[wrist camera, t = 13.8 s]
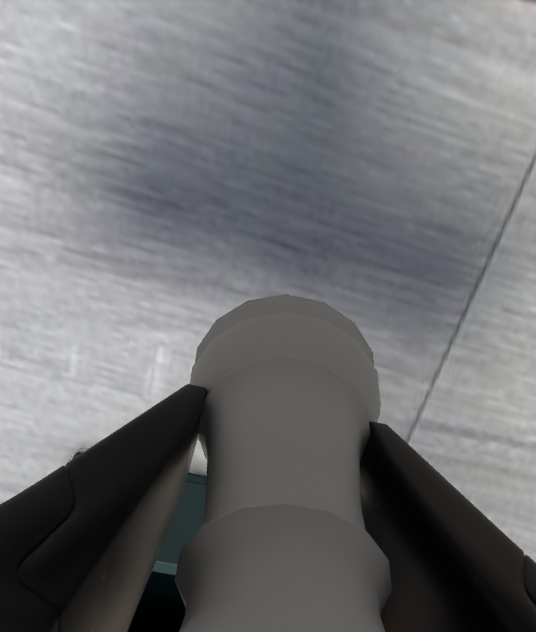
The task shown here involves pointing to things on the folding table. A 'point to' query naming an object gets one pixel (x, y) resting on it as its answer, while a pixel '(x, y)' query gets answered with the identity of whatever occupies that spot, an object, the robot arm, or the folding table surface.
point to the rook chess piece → (284, 475)
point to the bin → (170, 564)
